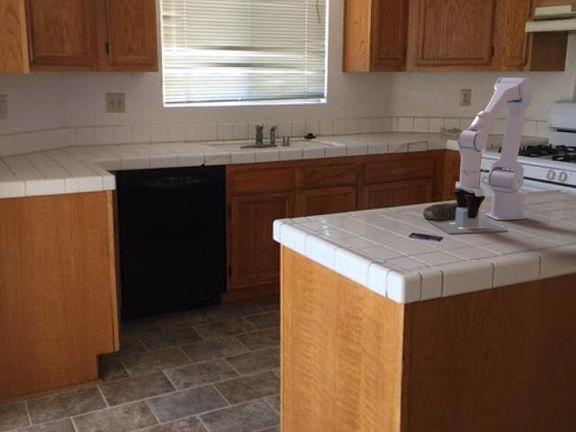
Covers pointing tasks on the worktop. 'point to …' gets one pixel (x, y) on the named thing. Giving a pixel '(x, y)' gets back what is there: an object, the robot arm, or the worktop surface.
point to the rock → (441, 211)
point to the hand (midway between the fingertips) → (467, 215)
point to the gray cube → (465, 218)
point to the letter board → (453, 228)
